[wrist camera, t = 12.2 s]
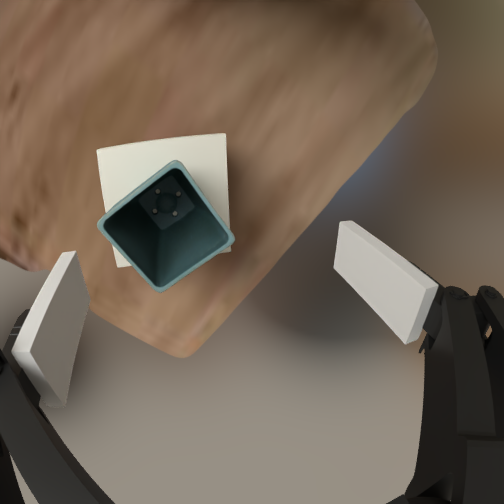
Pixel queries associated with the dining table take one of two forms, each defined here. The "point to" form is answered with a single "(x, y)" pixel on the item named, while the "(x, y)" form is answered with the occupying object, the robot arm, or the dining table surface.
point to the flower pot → (166, 227)
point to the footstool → (156, 157)
